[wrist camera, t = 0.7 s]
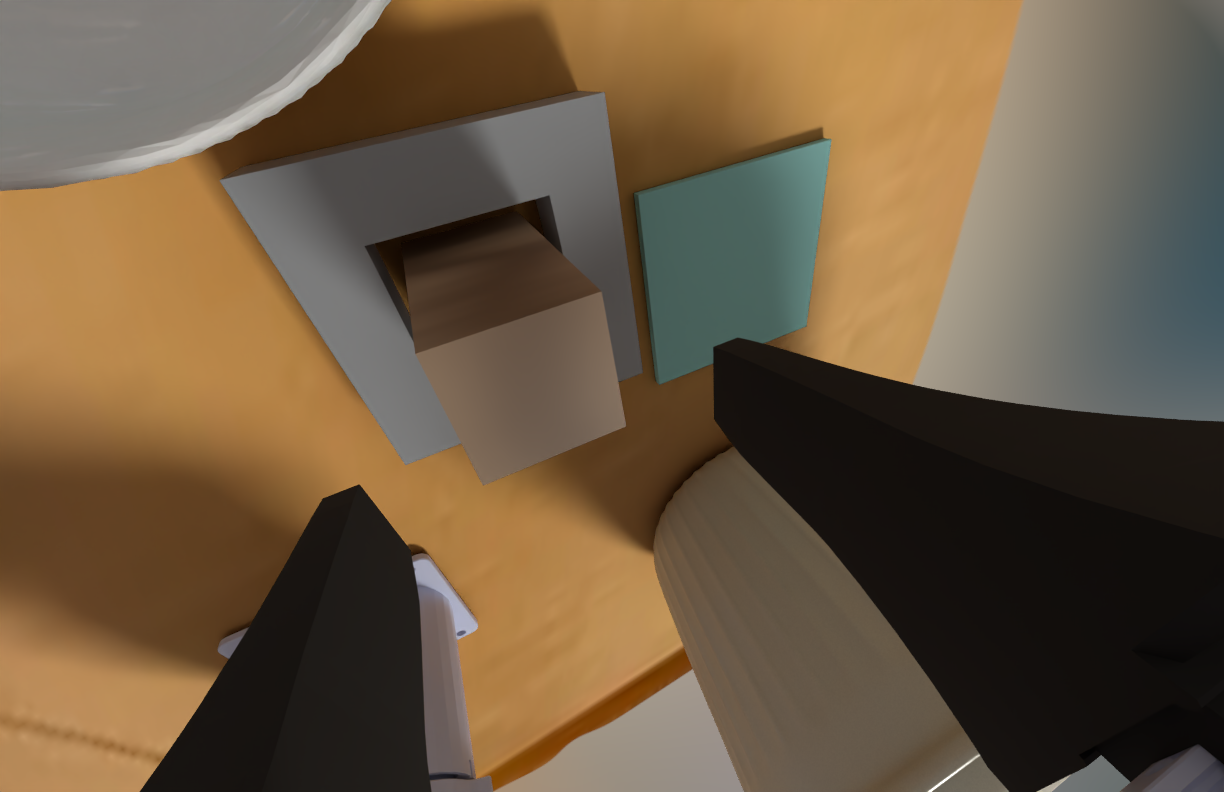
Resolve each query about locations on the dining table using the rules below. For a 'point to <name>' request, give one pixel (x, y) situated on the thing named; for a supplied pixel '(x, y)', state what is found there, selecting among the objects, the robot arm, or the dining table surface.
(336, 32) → the cereal bowl
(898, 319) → the dining table surface
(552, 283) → the walnut block
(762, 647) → the canister
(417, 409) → the pocket plate
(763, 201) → the mat
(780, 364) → the robot arm
